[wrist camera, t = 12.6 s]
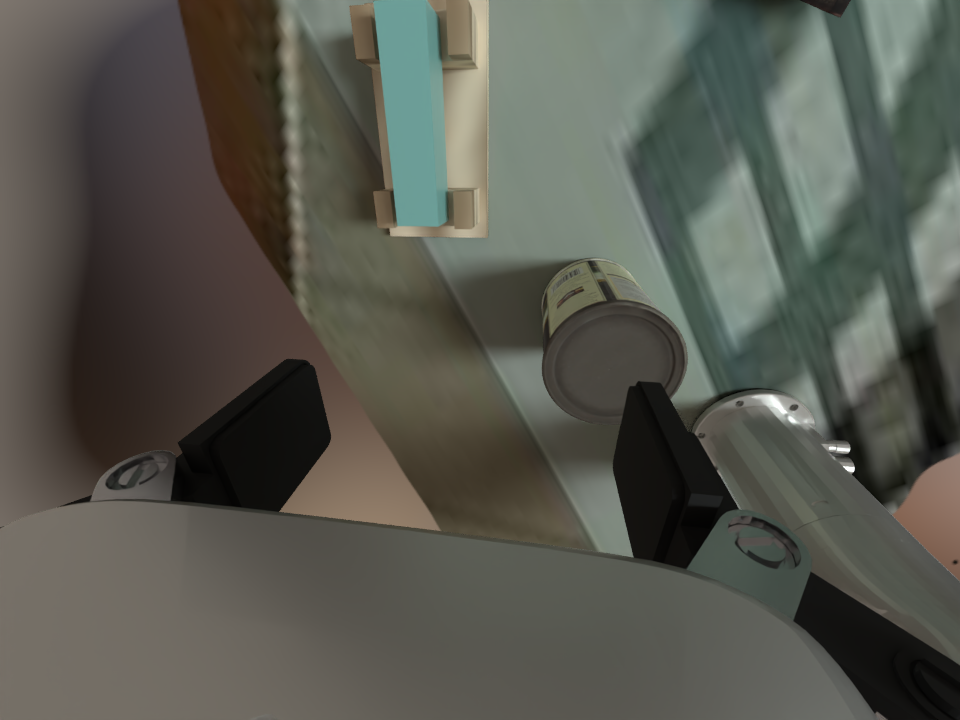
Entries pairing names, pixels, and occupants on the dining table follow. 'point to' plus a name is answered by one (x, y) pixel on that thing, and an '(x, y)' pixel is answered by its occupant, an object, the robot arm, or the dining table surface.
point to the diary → (830, 5)
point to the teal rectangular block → (414, 109)
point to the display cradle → (464, 112)
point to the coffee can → (605, 341)
